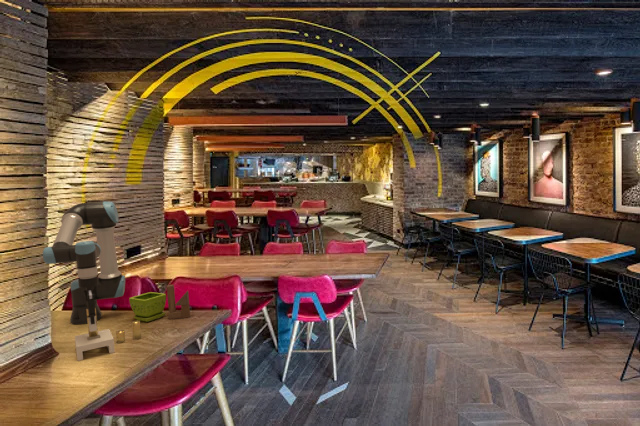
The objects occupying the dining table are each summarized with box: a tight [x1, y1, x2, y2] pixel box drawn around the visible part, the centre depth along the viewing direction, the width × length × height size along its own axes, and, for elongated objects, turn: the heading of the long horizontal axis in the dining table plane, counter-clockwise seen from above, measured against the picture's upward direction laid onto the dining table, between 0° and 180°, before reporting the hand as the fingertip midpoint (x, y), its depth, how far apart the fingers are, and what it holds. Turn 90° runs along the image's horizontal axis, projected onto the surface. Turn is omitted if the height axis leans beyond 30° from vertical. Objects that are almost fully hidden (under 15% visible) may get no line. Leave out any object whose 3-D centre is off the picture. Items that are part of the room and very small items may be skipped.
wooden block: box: [166, 284, 191, 320], centre depth 226 cm, size 4×11×18 cm, turn 95°
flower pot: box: [128, 291, 167, 323], centre depth 227 cm, size 14×14×13 cm
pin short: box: [115, 329, 126, 344], centre depth 194 cm, size 4×4×5 cm
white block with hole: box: [74, 328, 116, 362], centre depth 185 cm, size 16×14×6 cm
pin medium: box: [131, 319, 142, 340], centre depth 198 cm, size 4×4×8 cm
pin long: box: [86, 308, 99, 337], centre depth 184 cm, size 4×4×12 cm
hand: (92, 329), depth 185 cm, fingers closed on pin long, 3 cm apart
